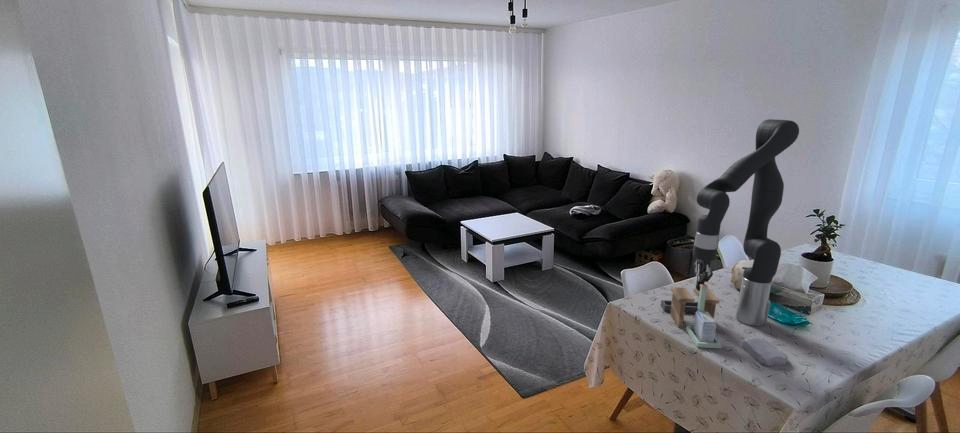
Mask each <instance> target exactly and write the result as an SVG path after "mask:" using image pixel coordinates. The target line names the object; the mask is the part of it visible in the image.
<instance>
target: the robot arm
mask: <svg viewBox="0 0 960 433" xmlns="http://www.w3.org/2000/svg"><path fill="white" fill-rule="evenodd" d="M799 133H800V127H799V124H798V123H796V122H795V121H793V120H789V119H772V118H771V119H765V120H763V121H762V122H761V123H760V124H759V125H758V127H757V129H756V132H755V150H754V151H753V152H751V153H748V154H747V155H745V156H743V157H741V158H740V159H738V160H736V161H735V162H733V163H732V164H731V165H730V166H729V167H728V168H727V169H726V170H725V172H723V173H722V175H720V176H719V177H718V178H716V179H714V180H713V181H711V182H710V183H708V184H706V185H705V186H704V187H702V188H701V189H700V190H699V191H698V192H697V195H696V203H697V205H698V206H700V207H702V208H704V209H708V210H709V212H708V213H707V214H703V215H700V217H699V218H698V221H697V228H696V233H695V236H694V243H693V250H692V256H693V258H695V259H693V260H692V264H693V265H692V266H693V271H694V276H695V279H696V283H695V288H696V289H697V290H698V291H700V284H706V283H708V282H709V281H710V280H711V279H712V277H713V276H714V273H713V271H711V269H712V268H711V267H712V263H711V262H712V261H716V259H717V257H718V255H717V254H718V249H719V243H720V230H721V225H722V221H723V220H724V217H725V216H726V214H727V211H728V210H729V207H730V205H731V204H730V202H731V201H730V197H729V195H728V193H734V192H737V191H738V190H739V189H740V188H742V186H743V185H744V184H745V183H747V181H748V180H749V179H751V177H752V176H753V177H754V178H753V183H752V184H753V185H752V191H751V202H750V208H749V209H750V211H749V217H748V223H747V227H746V231H745V236H744V239H743V244H742V245H743V246H742V247H743V253H744V254H745V255H746V256H747V257H748V258H750V259H752V261H754V262H753V266H752V267H750V268H746V269H745V270H744V273H743V278H742V284H741V290H739V296H738V302H737V308H736V311H735V312H736V314H735V319H736V320H738V322H740V323H743V324H745V325H748V326H755V327H761V326H763V325H765V326H766V325H767V322H768V318H769V317H768V316H769V312H770V308H771V300H770V298H769V297H770V292H771V287H772V283H773V279H774V277H775V276H776V274H777V272H778V268H779V263H780V260H781V255H782V249H781V248H782V247H781V246H780V244H779V243H778V242H777V241H775V240H773V239H770V238H768V229H769V224H770V221H771V219H772V218H773V216H774V215H775V214H776V213H777V211H778V210H779V208H780V206H781V205H782V202H783V197H784V189H785V186H784V185H785V184H784V180H783V177H782V174H781V172H780V169H779V168H778V166H777V162H776V157H777V156H778V155H780V154H781V153H782V152H785V150H787V149H788V148H789V147H791V146H792V145H793V144H794V143H795V142H796V141H797V139H798V137H799V135H800V134H799Z"/></svg>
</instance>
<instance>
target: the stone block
mask: <svg viewBox="0 0 960 433" xmlns="http://www.w3.org/2000/svg"><path fill="white" fill-rule="evenodd" d="M741 348H742V350H744V351H745V353H747V354H749V355H750V356H751V357H752V358H754V359H755V360H756V361H757V362H758V363H759V364H762V365H763V366H765V367H774V366H784V365H786V364H787V362H788V354H786V353H785V352H784V351H783V350H780V349H779V348H778V347H776V346H775V345H774V344H773V343H771V342H770V341H769V340H767V339H765V338H760V337H746V338H744V339H743V340H742V341H741Z"/></svg>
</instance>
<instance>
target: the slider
mask: <svg viewBox="0 0 960 433" xmlns="http://www.w3.org/2000/svg"><path fill="white" fill-rule="evenodd" d="M707 289H709V286H708V285H707V284H706V283H704V284H700V294H699V297H698V301H697V302H698V307H697V312H698V311H701V312H704V305H705V298H706V292H707ZM693 327H694V325H691V326H690V325H687V326H686V328H685V330H686V332H687V333H688V335H689V336H690V338H691V339H692V341H693V343H694V344H695V346H696V347H697V348H704V349H705V348H707V349H720V350H721V349H722V343H721V342H720V341H719V340H718V338H717V337H716V336H715V338H714V343H707V342H699V340H698V339H697V337H696V336H695V334H694V333H693Z"/></svg>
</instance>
